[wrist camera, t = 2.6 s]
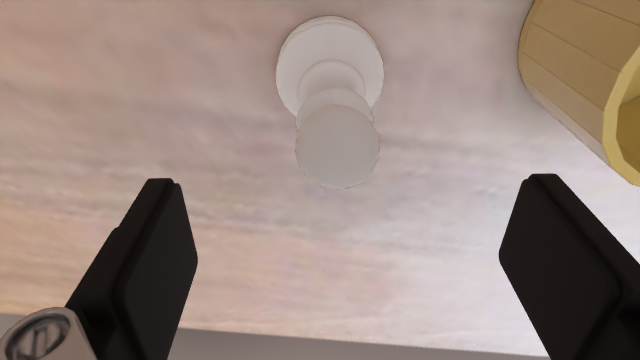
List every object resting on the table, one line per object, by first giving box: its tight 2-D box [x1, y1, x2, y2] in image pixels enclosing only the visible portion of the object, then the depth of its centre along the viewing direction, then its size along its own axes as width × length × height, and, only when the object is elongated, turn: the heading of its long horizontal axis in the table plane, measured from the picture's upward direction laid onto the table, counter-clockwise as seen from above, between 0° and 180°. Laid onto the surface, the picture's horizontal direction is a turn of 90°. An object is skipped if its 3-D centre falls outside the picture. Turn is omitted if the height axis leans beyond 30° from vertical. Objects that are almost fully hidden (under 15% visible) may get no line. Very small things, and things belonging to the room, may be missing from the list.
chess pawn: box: [276, 16, 384, 189], centre depth 16 cm, size 5×5×9 cm
